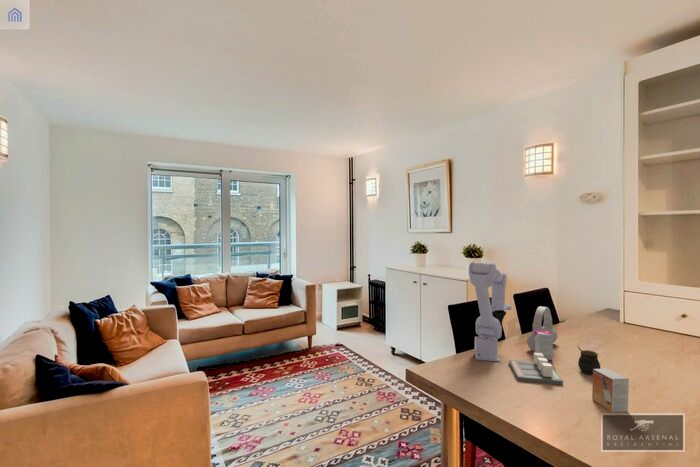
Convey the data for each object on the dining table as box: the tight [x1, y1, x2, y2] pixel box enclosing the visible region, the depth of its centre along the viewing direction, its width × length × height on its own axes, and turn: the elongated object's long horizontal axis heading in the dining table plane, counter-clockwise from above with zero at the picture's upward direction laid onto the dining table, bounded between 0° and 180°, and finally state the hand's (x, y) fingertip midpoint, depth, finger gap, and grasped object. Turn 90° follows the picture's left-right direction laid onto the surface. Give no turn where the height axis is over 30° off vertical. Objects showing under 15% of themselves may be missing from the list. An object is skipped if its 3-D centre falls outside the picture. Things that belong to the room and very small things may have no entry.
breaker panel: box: [508, 359, 564, 386], centre depth 136 cm, size 15×17×2 cm
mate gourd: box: [577, 346, 601, 376], centre depth 137 cm, size 7×8×10 cm
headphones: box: [526, 305, 559, 352], centre depth 165 cm, size 20×8×19 cm, turn 136°
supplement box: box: [533, 330, 554, 362], centre depth 151 cm, size 6×6×12 cm
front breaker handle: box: [541, 362, 554, 377], centre depth 130 cm, size 3×3×4 cm
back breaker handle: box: [533, 352, 544, 365], centre depth 141 cm, size 3×3×4 cm
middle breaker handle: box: [537, 358, 549, 371], centre depth 135 cm, size 3×3×4 cm
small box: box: [591, 368, 630, 413], centre depth 111 cm, size 8×6×10 cm
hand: (498, 326), depth 164 cm, fingers closed
